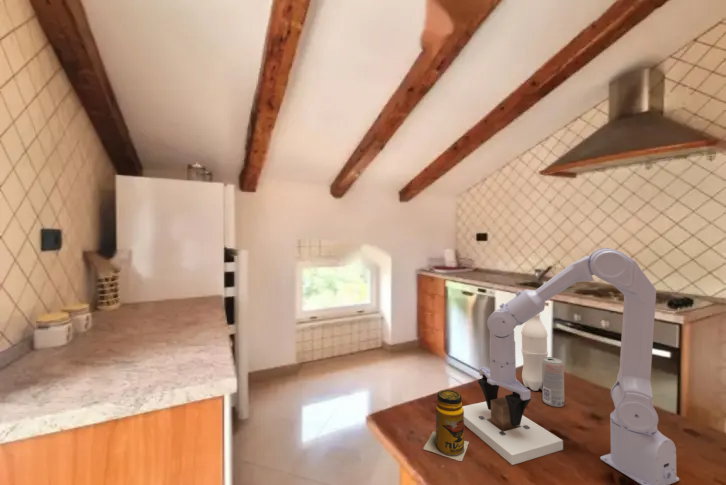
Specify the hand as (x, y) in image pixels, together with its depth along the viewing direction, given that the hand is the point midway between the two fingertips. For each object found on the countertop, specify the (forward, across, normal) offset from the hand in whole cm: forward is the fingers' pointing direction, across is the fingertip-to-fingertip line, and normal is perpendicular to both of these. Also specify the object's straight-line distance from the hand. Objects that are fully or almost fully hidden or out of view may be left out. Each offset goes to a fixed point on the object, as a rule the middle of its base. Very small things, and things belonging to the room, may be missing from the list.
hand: (503, 416), depth 78 cm
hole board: (+4, 0, 0) cm, 4 cm away
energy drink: (+4, -6, +23) cm, 24 cm away
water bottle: (+4, -15, +26) cm, 30 cm away
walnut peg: (+4, 0, 0) cm, 4 cm away
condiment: (+4, 0, -16) cm, 16 cm away
